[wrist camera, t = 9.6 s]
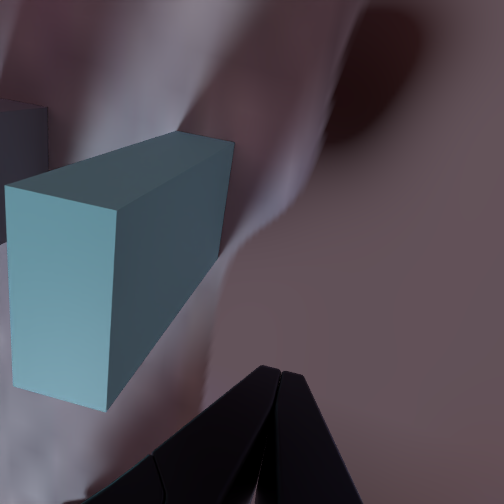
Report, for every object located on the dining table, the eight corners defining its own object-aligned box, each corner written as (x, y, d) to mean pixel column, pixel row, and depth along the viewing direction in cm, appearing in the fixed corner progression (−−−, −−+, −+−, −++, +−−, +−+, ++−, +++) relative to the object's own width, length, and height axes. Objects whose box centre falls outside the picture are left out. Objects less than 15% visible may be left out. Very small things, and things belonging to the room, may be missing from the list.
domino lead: (234, 142, 18) (116, 210, 9) (217, 258, 20) (105, 412, 11) (176, 130, 18) (4, 185, 9) (165, 246, 20) (13, 386, 11)
